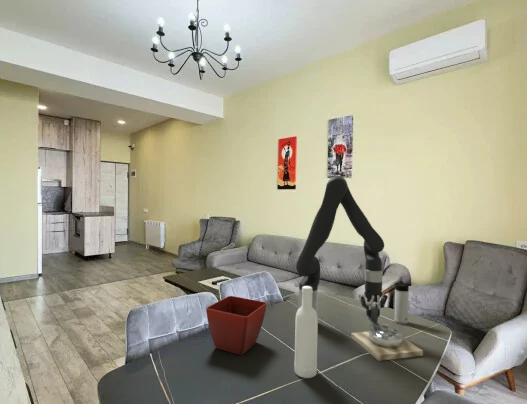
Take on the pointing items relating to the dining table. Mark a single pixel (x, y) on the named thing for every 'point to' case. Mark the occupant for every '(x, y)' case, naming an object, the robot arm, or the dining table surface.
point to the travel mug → (401, 303)
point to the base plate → (383, 352)
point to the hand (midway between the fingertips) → (373, 316)
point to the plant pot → (235, 323)
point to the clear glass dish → (383, 332)
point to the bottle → (306, 337)
